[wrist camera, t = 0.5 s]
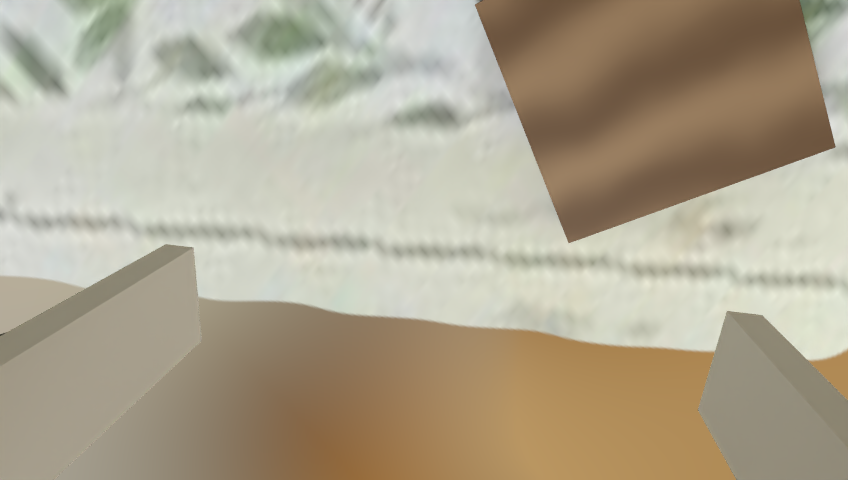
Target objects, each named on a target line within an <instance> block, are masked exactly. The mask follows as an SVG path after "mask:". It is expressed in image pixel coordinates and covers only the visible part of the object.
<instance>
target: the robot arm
mask: <svg viewBox="0 0 848 480" xmlns="http://www.w3.org/2000/svg"><path fill="white" fill-rule="evenodd" d="M201 340H202V339H201V328H200V317H199V306H198V293H197V282H196V271H195V259H194V248H192V247H184V246H176V245H167V244H166V245H164V246H162V247H160V248H158V249H157V250H155V251H153V252H151V253H149V254H148V255H146V256H144V257H142V258H140V259H139V260H137V261H135V262H133V263H131V264H130V265H128V266H126V267H124V268H122V269H120V270H119V271H117V272H115V273H113V274H111V275H110V276H108V277H106V278H104V279H102V280H101V281H99V282H97V283H95V284H93V285H92V286H90V287H88V288H86V289H84V290H83V291H81V292H79V293H77V294H76V295H74V296H72V297H70V298H68V299H66V300H65V301H63V302H61V303H59V304H58V305H56V306H54V307H52V308H50V309H48V310H46V311H45V312H43V313H41V314H39V315H37V316H36V317H34V318H32V319H30V320H29V321H27V322H25V323H23V324H21V325H19V326H18V327H16V328H14V329H12V330H11V331H9V332H6V333H3V334H0V480H54V479H55V478H56V477H57V476H58V475H59V474H60V473H61V472H62V471H63V470H64V469H66V468H67V467H68V466H69V465H70V464H71V463H72V462H73V461H74V460H75V459H76V458H77V457H78V456H79V455H81V454H82V453H83V452H84V451H85V450H86V449H87V448H88V447H89V446H90V445H91V444H92V443H93V442H94V441H95V440H96V439H98V438H99V437H100V436H101V435H102V434H103V433H104V432H105V431H106V430H107V429H108V428H109V427H110V426H111V425H112V424H113V423H114V422H116V421H117V420H118V419H119V418H120V417H121V416H122V415H123V414H124V413H125V412H126V411H127V410H128V409H130V407H132V406H133V405H134V404H135V403H136V402H137V401H138V400H139V399H140V398H141V397H142V396H143V395H144V394H145V393H146V392H147V391H149V390H150V389H151V388H152V387H153V386H154V385H155V384H156V383H157V382H158V381H159V380H160V379H161V378H162V377H164V376H165V375H166V374H167V373H168V372H169V371H170V370H171V369H172V368H173V367H174V366H175V365H176V364H177V363H178V362H180V361H181V359H183V358H184V357H185V356H186V355H187V354H188V353H189V352H190V351H191V350H192V349H193V348H194V347H196V346H197V345H198V344H199V343H200V342H201ZM698 411H699V413H700V415H701V416H702V418H703V420H704V422H705V424H706V426H707V427H708V429H709V431H710V433H711V434H712V436H713V438H714V440H715V442H716V444H717V445H718V447H719V449H720V451H721V453H722V454H723V456H724V458H725V460H726V462H727V464H728V465H729V467H730V469H731V471H732V473H733V474H734V476H735V478H736V480H848V400H847V399H846V398H845V397H844V396H843V395H842V394H841V393H840V392H838V390H837V389H836V388H835V387H834V386H833V385H832V384H831V383H830V382H828V381H827V379H826V378H825V377H823V375H822V374H821V373H819V371H818V370H817V369H816V368H815V367H813V365H812V364H811V363H810V362H809V361H808V360H807V359H806V358H805V357H804V356H803V355H802V354H801V353H800V352H799V351H798V350H797V349H796V348H795V347H794V346H793V345H792V344H791V343H790V342H789V341H788V340H787V339H786V338H785V337H784V336H783V335H781V334H780V333H779V332H778V331H777V330H776V329H775V328H774V327H773V326H772V325H771V324H770V323H769V322H768V321H767V320H766V319H765V318H764V317H763V316H762V315H756V314H747V313H739V312H731V311H727V313H726V316H725V320H724V323H723V327H722V330H721V333H720V337H719V340H718V344H717V347H716V350H715V354H714V357H713V361H712V364H711V367H710V371H709V375H708V378H707V381H706V384H705V388H704V392H703V395H702V398H701V402H700V405H699V408H698Z"/></svg>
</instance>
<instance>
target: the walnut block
mask: <svg viewBox="0 0 848 480" xmlns="http://www.w3.org/2000/svg"><path fill="white" fill-rule="evenodd" d="M475 6H476V9H477V11H478V14H479V16H480V19H481V21H482V24H483V27H484V29H485V32H486V34H487V37H488V39H489V42H490V44H491V47H492V49H493V52H494V54H495V57H496V60H497V62H498V65H499V67H500V70H501V72H502V75H503V77H504V80H505V82H506V85H507V88H508V90H509V93H510V95H511V98H512V100H513V103H514V105H515V108H516V110H517V113H518V115H519V118H520V121H521V123H522V126H523V128H524V131H525V133H526V136H527V138H528V141H529V143H530V146H531V149H532V151H533V154H534V156H535V159H536V161H537V164H538V166H539V169H540V171H541V174H542V176H543V179H544V182H545V184H546V187H547V189H548V192H549V194H550V197H551V199H552V202H553V204H554V207H555V210H556V212H557V215H558V217H559V220H560V222H561V225H562V227H563V230H564V232H565V235H566V237H567V240H568V243H571V242H573V241H576V240H579V239H582V238H585V237H587V236H590V235H593V234H596V233H599V232H601V231H604V230H607V229H610V228H612V227H615V226H618V225H621V224H624V223H626V222H629V221H632V220H635V219H637V218H640V217H643V216H646V215H649V214H651V213H654V212H657V211H660V210H662V209H665V208H668V207H671V206H674V205H676V204H679V203H682V202H685V201H687V200H690V199H693V198H696V197H699V196H701V195H704V194H707V193H710V192H712V191H715V190H718V189H721V188H724V187H726V186H729V185H732V184H735V183H738V182H740V181H743V180H746V179H749V178H751V177H754V176H757V175H760V174H763V173H765V172H768V171H771V170H774V169H776V168H779V167H782V166H785V165H788V164H790V163H793V162H796V161H799V160H801V159H804V158H807V157H810V156H813V155H815V154H818V153H821V152H824V151H826V150H829V149H832V148H835V143H834V139H833V135H832V131H831V127H830V123H829V119H828V115H827V111H826V106H825V102H824V98H823V94H822V90H821V86H820V82H819V78H818V74H817V70H816V66H815V62H814V58H813V54H812V50H811V46H810V42H809V38H808V33H807V29H806V25H805V21H804V17H803V13H802V9H801V5H800V1H799V0H483V1H481V2H479V3H477V4H475Z"/></svg>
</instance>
